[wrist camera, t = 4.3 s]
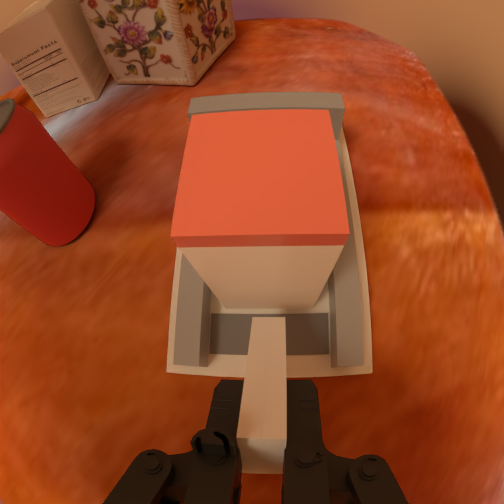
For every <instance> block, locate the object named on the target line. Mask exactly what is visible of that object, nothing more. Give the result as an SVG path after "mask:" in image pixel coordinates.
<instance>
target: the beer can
mask: <svg viewBox="0 0 504 504" xmlns="http://www.w3.org/2000/svg"><path fill="white" fill-rule="evenodd" d="M94 207H95V194H94V189H93V188H92V186H91V185H90V183H89V182H88V181H87V180H86V178H85V177H84V176H83V175H82V174H81V173H80V171H79V170H78V169H77V168H76V167H75V165H74V164H73V163H72V162H71V161H70V159H69V158H68V157H67V156H66V155H65V153H64V152H63V151H62V150H61V148H60V147H59V146H58V145H57V143H56V142H55V141H54V140H53V138H52V137H51V136H50V135H49V133H48V132H47V131H46V129H45V128H44V127H43V126H42V124H41V123H40V122H39V120H38V119H37V118H36V116H35V115H34V114H33V113H32V112H31V111H29V110H28V109H26V108H24V107H22V106H20V105H18V104H16V103H15V102H14V99H10V98H8V99H5V100H2V101H0V210H1V211H2V212H3V213H5V214H6V215H7V216H8V217H10V218H11V219H12V220H14V221H15V222H16V223H18V224H19V225H20V226H22V227H23V228H24V229H26V230H27V231H28V232H30V233H31V234H33V235H34V236H35V237H37V238H38V239H40V240H41V241H42V242H44V243H45V244H47V245H50V246H55V247H57V246H61V245H65V244H67V243H69V242H71V241H72V240H74V239H75V238H76V237H77V236H78V235H80V234H81V233H82V232H83V230H84V229H85V227H86V226H87V224H88V223H89V221H90V219H91V217H92V214H93V212H94Z"/></svg>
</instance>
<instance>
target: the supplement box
mask: <svg viewBox="0 0 504 504" xmlns="http://www.w3.org/2000/svg"><path fill="white" fill-rule="evenodd" d="M0 53H1V55H2V56H3V58H4V59H5V61H6V62H7V63H8V65H9V67H10V68H11V70H12V71H13V73H14V74H15V75H16V77H17V78H18V80H19V81H20V83H21V84H22V86H23V87H24V89H25V90H26V91H27V93H28V94H29V96H30V97H31V98H32V100H33V101H34V102H35V104H36V105H37V107H38V108H39V109H40V111H41V112H42V113H43V115H44V116H45V117H46V118H47V117H50V116H52V115H55V114H58V113H60V112H63V111H66V110H69V109H71V108H74V107H77V106H80V105H83V104H86V103H89V102H92V101H95V100H97V99H98V98H99V95H100V93H101V91H102V89H103V87H104V85H105V83H106V81H107V79H108V77H109V75H110V73H111V72H110V71H109V69H108V67H107V65H106V63H105V60H104V59H103V56H102V54H101V52H100V50H99V48H98V46H97V44H96V41H95V39H94V37H93V35H92V32H91V30H90V28H89V25H88V23H87V21H86V18H85V16H84V14H83V12H82V9H81V7H80V5H79V2H78V0H38V1H36V2H35V3H33V4H32V5H30V6H29V7H27V8H26V9H25V10H24V11H23V12H21V13H20V14H19V15H18V16H17V17H16V18H15V19H14V20H13V21H11V22H10V23H9V24H8V25H7V26H6V27H5V28H4V29H3V30H2V31H1V32H0Z"/></svg>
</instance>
